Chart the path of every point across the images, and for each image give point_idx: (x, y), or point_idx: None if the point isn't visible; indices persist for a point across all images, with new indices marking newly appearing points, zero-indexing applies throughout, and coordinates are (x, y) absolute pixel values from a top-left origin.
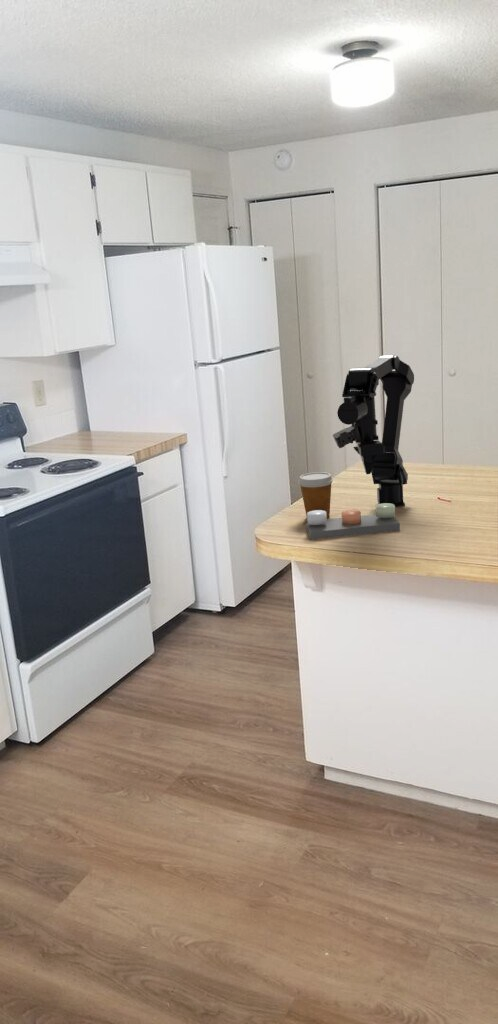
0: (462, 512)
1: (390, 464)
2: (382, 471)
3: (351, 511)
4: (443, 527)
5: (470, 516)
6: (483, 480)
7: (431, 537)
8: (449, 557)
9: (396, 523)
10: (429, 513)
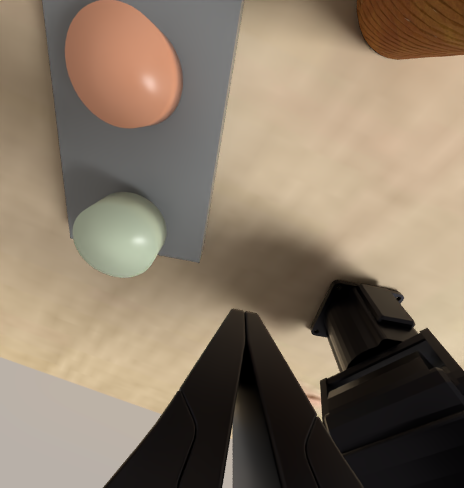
0: (180, 386)
1: (362, 468)
2: (384, 403)
3: (141, 82)
4: (82, 320)
5: (145, 384)
6: None
7: (2, 268)
8: None
9: (69, 228)
10: (209, 342)
